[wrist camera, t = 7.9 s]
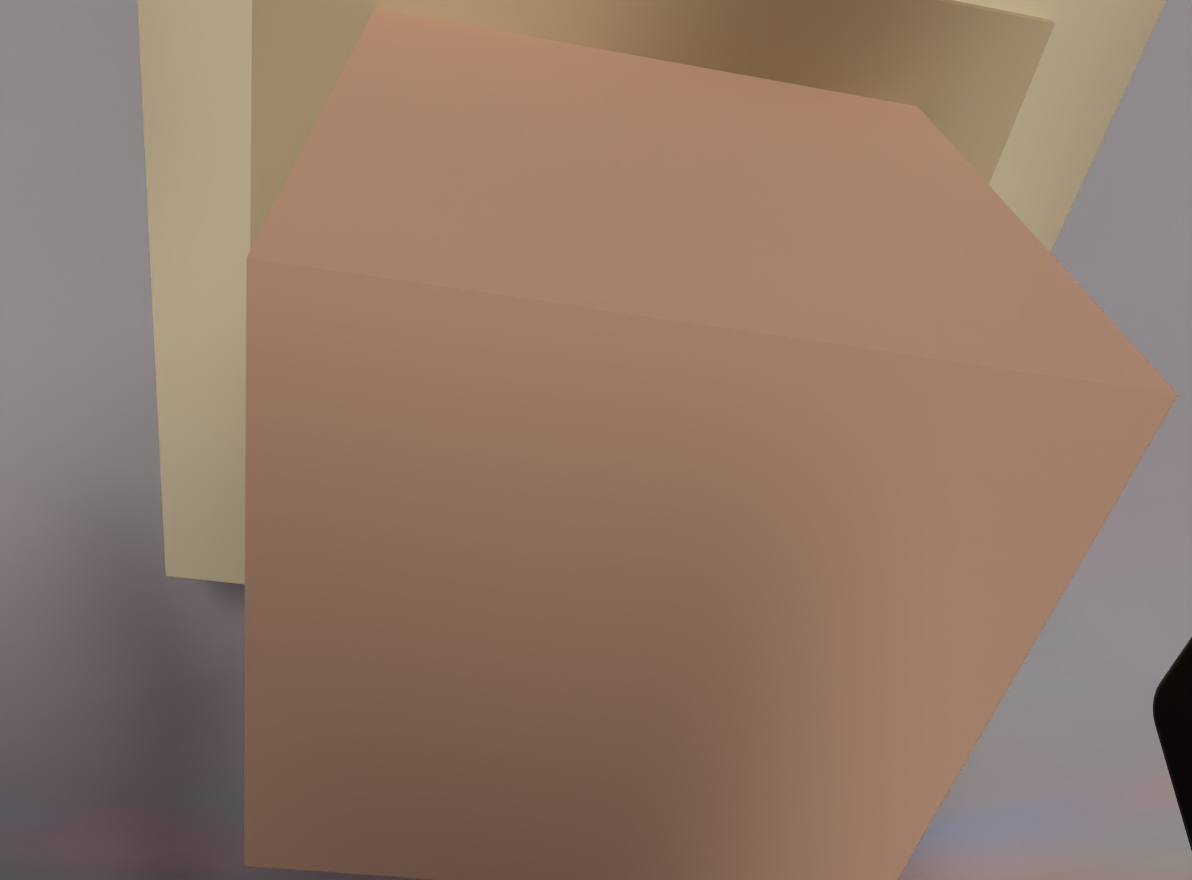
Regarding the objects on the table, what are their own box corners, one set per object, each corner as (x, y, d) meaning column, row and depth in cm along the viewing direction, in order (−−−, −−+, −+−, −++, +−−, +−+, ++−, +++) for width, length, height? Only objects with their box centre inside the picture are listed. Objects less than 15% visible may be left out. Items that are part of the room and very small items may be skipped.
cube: (918, 106, 10) (1178, 394, 6) (770, 519, 13) (879, 911, 9) (375, 7, 9) (246, 258, 5) (343, 468, 12) (242, 866, 8)
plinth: (1103, -113, 11) (1211, -76, 9) (833, 551, 16) (870, 659, 14) (192, -312, 10) (115, -313, 8) (207, 476, 15) (161, 583, 13)
